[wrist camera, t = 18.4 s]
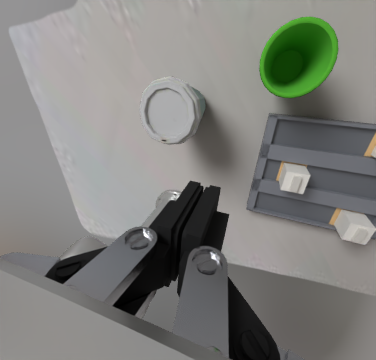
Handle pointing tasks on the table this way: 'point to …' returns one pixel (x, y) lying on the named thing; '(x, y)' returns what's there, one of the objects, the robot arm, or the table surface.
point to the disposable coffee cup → (171, 110)
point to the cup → (298, 57)
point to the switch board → (316, 169)
